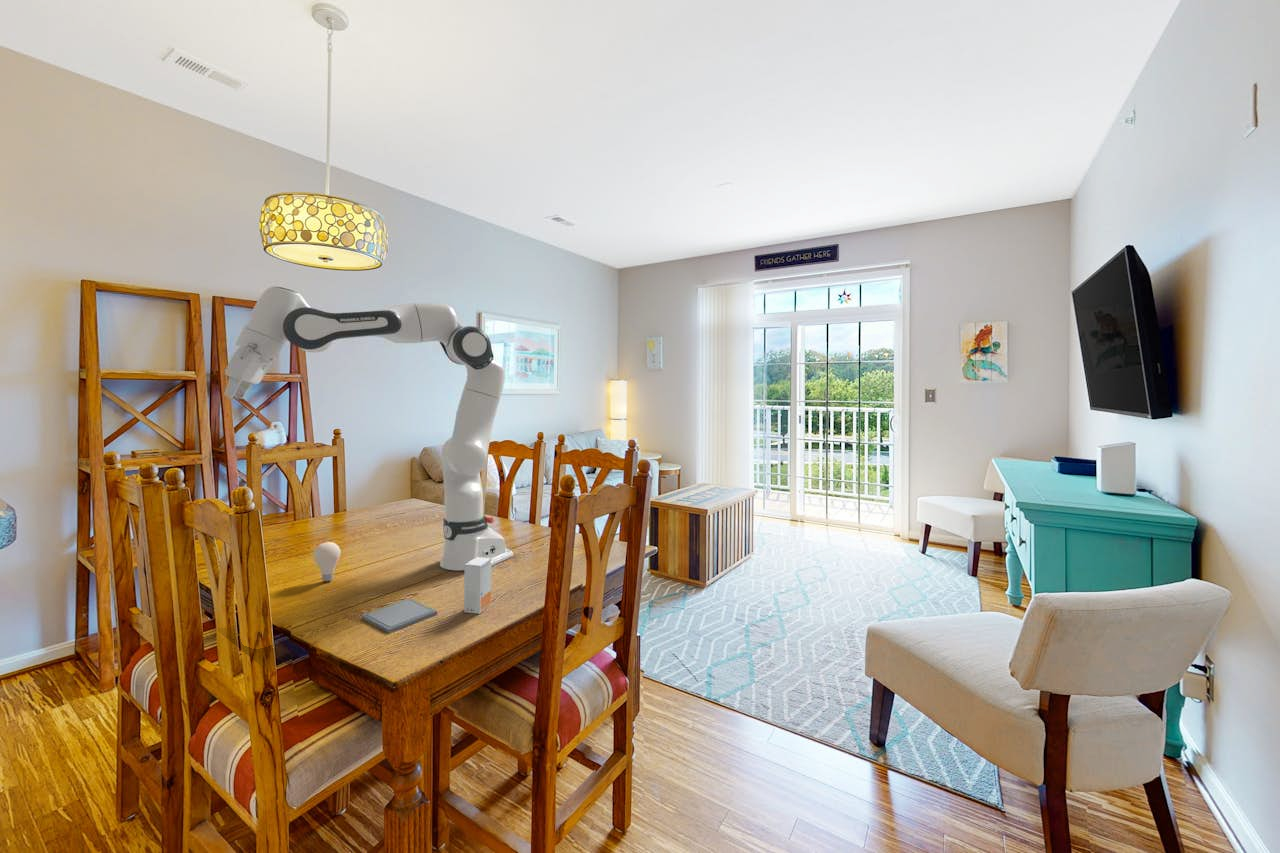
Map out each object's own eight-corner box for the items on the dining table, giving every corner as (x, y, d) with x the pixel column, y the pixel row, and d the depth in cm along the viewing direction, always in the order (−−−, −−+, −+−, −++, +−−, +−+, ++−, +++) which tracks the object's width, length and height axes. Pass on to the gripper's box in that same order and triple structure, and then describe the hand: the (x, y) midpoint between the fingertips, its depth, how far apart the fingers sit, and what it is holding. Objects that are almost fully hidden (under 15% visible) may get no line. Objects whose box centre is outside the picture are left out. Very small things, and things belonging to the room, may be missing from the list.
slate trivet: (409, 601, 132) (409, 598, 132) (437, 614, 125) (437, 610, 125) (361, 618, 122) (361, 614, 122) (388, 633, 115) (388, 629, 115)
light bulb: (321, 577, 147) (320, 538, 147) (346, 576, 148) (345, 538, 147) (308, 586, 141) (307, 546, 140) (334, 585, 141) (333, 545, 141)
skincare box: (480, 614, 125) (479, 566, 125) (463, 612, 126) (463, 564, 125) (492, 604, 131) (491, 557, 130) (476, 602, 132) (476, 556, 131)
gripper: (264, 346, 123) (237, 401, 121) (279, 356, 141) (256, 403, 139) (233, 334, 120) (205, 390, 118) (253, 346, 138) (229, 393, 136)
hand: (233, 397), depth 129 cm, fingers open, 8 cm apart
